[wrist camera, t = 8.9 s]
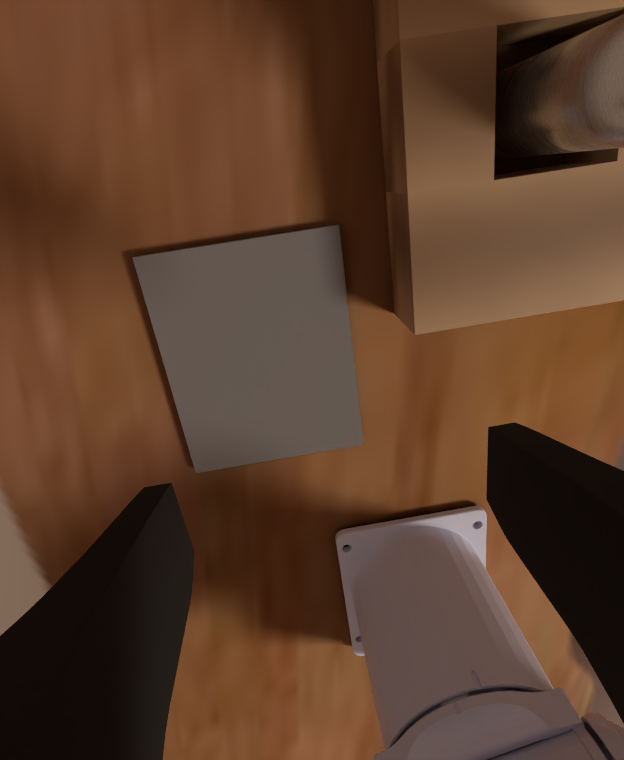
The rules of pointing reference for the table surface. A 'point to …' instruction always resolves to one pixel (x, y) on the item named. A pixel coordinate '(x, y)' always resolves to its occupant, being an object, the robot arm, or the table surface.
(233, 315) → the mat
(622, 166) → the hole block
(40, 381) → the table surface
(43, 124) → the table surface
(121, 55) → the table surface
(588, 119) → the peg
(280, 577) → the table surface
